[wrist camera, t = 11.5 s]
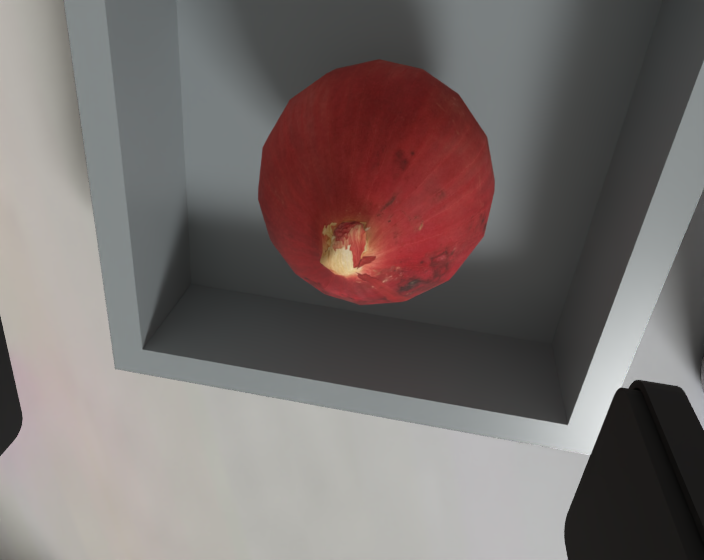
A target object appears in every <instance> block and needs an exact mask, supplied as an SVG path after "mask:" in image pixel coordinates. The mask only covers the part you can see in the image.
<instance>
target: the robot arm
mask: <svg viewBox="0 0 704 560" xmlns="http://www.w3.org/2000/svg"><path fill="white" fill-rule="evenodd" d="M21 426H22V411H21V407H20V402H19V398H18V393H17V389H16V385H15V380H14V376H13V371H12V367H11V362H10V358H9V353H8V349H7V344H6V340H5V335H4V331H3V326H2V322H1V317H0V456H1V455H2V453H3V452H4V451H5V450H6V449H7V448H8V447H9V445H10V444H11V443H12V442H13V441H14V440H15V438H16V437H17V435H18V433H19V431H20V429H21ZM564 538H565V545H566V551H567V557H568V560H704V430H703V428H702V426H701V424H700V422H699V420H698V418H697V416H696V414H695V412H694V410H693V408H692V406H691V404H690V402H689V400H688V398H687V396H686V394H685V392H684V391H683V390H682V388H680V387H678V386H673V385H666V384H660V383H654V382H648V381H642V380H636V381H634V382H633V383H632V384H631V385H630V387H629V389H627V388H619V389H618V390H617V391H616V393H615V395H614V397H613V399H612V402H611V404H610V407H609V409H608V412H607V415H606V417H605V420H604V422H603V425H602V427H601V430H600V432H599V435H598V437H597V440H596V442H595V445H594V448H593V450H592V453H591V455H590V458H589V460H588V463H587V465H586V468H585V470H584V473H583V475H582V478H581V481H580V483H579V486H578V488H577V491H576V493H575V496H574V498H573V501H572V503H571V506H570V509H569V511H568V514H567V517H566V521H565V530H564Z"/></svg>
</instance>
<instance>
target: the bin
mask: <svg viewBox="0 0 704 560" xmlns="http://www.w3.org/2000/svg"><path fill="white" fill-rule="evenodd" d="M64 6H65V13H66V20H67V27H68V34H69V41H70V49H71V56H72V63H73V70H74V77H75V85H76V92H77V99H78V106H79V113H80V120H81V128H82V135H83V142H84V149H85V156H86V163H87V171H88V178H89V185H90V192H91V199H92V206H93V214H94V221H95V228H96V235H97V242H98V250H99V257H100V264H101V271H102V278H103V285H104V293H105V300H106V307H107V314H108V321H109V328H110V336H111V343H112V350H113V357H114V364H115V369H118V370H124V371H129V372H135V373H140V374H146V375H151V376H157V377H162V378H168V379H173V380H179V381H184V382H190V383H195V384H201V385H206V386H212V387H217V388H223V389H228V390H234V391H239V392H245V393H250V394H256V395H261V396H267V397H272V398H278V399H283V400H289V401H294V402H300V403H305V404H311V405H317V406H322V407H328V408H333V409H339V410H344V411H350V412H355V413H361V414H366V415H372V416H377V417H383V418H388V419H394V420H399V421H405V422H410V423H416V424H421V425H427V426H432V427H438V428H443V429H449V430H454V431H460V432H465V433H471V434H476V435H482V436H487V437H493V438H498V439H504V440H509V441H515V442H520V443H526V444H531V445H537V446H542V447H548V448H554V449H559V450H565V451H570V452H576V453H581V454H587V455H591V453H592V450H593V448H594V445H595V442H596V440H597V437H598V435H599V432H600V430H601V427H602V425H603V422H604V420H605V417H606V415H607V412H608V409H609V407H610V404H611V402H612V399H613V397H614V395H615V393H616V391H617V390H618V389H619V388H621V387H622V384H623V382H624V379H625V377H626V375H627V372H628V370H629V367H630V365H631V363H632V360H633V358H634V355H635V353H636V351H637V348H638V346H639V343H640V341H641V339H642V336H643V334H644V331H645V329H646V326H647V324H648V322H649V319H650V317H651V314H652V312H653V310H654V307H655V305H656V302H657V300H658V298H659V295H660V293H661V290H662V288H663V286H664V283H665V281H666V278H667V276H668V274H669V271H670V269H671V266H672V264H673V262H674V259H675V257H676V254H677V252H678V250H679V247H680V245H681V242H682V240H683V237H684V235H685V233H686V230H687V228H688V225H689V223H690V221H691V218H692V216H693V213H694V211H695V209H696V206H697V204H698V201H699V199H700V197H701V194H702V192H703V189H704V0H64ZM377 59H381V60H385V61H390V62H394V63H398V64H403V65H407V66H412V67H416V68H420V69H423V70H425V71H426V72H428V73H429V74H431V75H432V76H434V77H435V78H436V79H438V80H439V81H441V82H442V83H444V84H445V85H446V86H448V87H449V88H451V89H452V90H454V91H455V92H457V93H458V94H459V95H460V97H461V98H462V100H463V101H464V103H465V104H466V106H467V107H468V109H469V110H470V112H471V113H472V115H473V116H474V118H475V119H476V121H477V122H478V124H479V125H480V127H481V128H482V130H483V131H484V133H485V134H486V136H487V138H488V144H489V149H490V155H491V161H492V167H493V172H494V178H495V191H494V195H493V200H492V204H491V208H490V213H489V217H488V221H487V226H486V230H485V234H484V237H483V238H482V240H481V241H480V242H479V243H478V245H477V246H476V247H475V249H474V250H473V251H472V252H471V254H470V255H469V256H468V258H467V259H466V260H465V261H464V263H463V264H462V265H461V266H460V268H459V269H458V270H457V272H456V273H455V274H454V275H453V276H452V277H451V278H450V280H449V281H446V282H444V283H442V284H440V285H438V286H436V287H434V288H432V289H430V290H428V291H426V292H424V293H422V294H420V295H417V296H415V297H413V298H411V299H409V300H407V301H403V302H394V303H382V304H369V305H359V304H355V303H352V302H349V301H345V300H342V299H339V298H336V297H332V296H329V295H326V294H324V293H322V292H321V291H319V290H318V289H317V288H315V287H314V286H312V285H311V284H309V283H308V282H306V281H305V280H304V279H302V278H301V277H299V276H298V275H296V274H295V273H294V271H293V270H292V269H291V267H290V266H289V265H288V263H287V262H286V261H285V259H284V258H283V257H282V255H281V254H280V253H279V251H278V250H277V249H276V248H275V246H274V245H273V243H272V242H271V240H270V238H269V234H268V231H267V228H266V224H265V221H264V218H263V214H262V211H261V208H260V205H259V201H258V186H259V176H260V167H261V158H262V148H263V146H264V144H265V142H266V140H267V138H268V136H269V134H270V133H271V131H272V129H273V128H274V126H275V124H276V122H277V121H278V119H279V117H280V116H281V114H282V112H283V111H284V109H285V107H286V105H287V104H288V102H289V100H290V99H291V98H293V97H294V96H296V95H297V94H298V93H300V92H301V91H303V90H304V89H305V88H307V87H308V86H310V85H311V84H312V83H314V82H315V81H317V80H318V79H319V78H321V77H322V76H324V75H325V74H326V73H328V72H330V71H332V70H334V69H337V68H341V67H346V66H350V65H355V64H359V63H364V62H368V61H373V60H377Z"/></svg>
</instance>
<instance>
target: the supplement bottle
mask: <svg viewBox="0 0 704 560" xmlns="http://www.w3.org/2000/svg"><path fill="white" fill-rule="evenodd" d="M701 383H702V387H703V391H704V356H703V359H702V365H701Z"/></svg>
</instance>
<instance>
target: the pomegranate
mask: <svg viewBox="0 0 704 560" xmlns="http://www.w3.org/2000/svg"><path fill="white" fill-rule="evenodd" d="M494 191H495V178H494V172H493V167H492V161H491V155H490V149H489V144H488V138H487V136H486V134H485V133H484V131H483V130H482V128H481V127H480V125H479V124H478V122H477V121H476V119H475V118H474V116H473V115H472V113H471V112H470V110H469V109H468V107H467V106H466V104H465V103H464V101H463V100H462V98H461V97H460V95H459V94H458V93H457V92H455V91H454V90H452V89H451V88H449V87H448V86H446V85H445V84H444V83H442V82H441V81H439V80H438V79H436V78H435V77H434V76H432V75H431V74H429V73H428V72H426V71H425V70H423V69H420V68H416V67H412V66H407V65H403V64H398V63H394V62H390V61H385V60H381V59H377V60H373V61H368V62H364V63H359V64H355V65H350V66H346V67H341V68H337V69H334V70H332V71H330V72H328V73H326V74H325V75H324V76H322V77H321V78H319V79H318V80H317V81H315V82H314V83H312V84H311V85H310V86H308V87H307V88H305V89H304V90H303V91H301V92H300V93H298V94H297V95H296V96H294V97H293V98H291V99H290V100H289V102H288V104H287V105H286V107H285V109H284V111H283V112H282V114H281V116H280V117H279V119H278V121H277V122H276V124H275V126H274V128H273V129H272V131H271V133H270V134H269V136H268V138H267V140H266V142H265V144H264V146H263V148H262V158H261V167H260V176H259V186H258V201H259V205H260V208H261V211H262V214H263V218H264V221H265V224H266V228H267V231H268V234H269V238H270V240H271V242H272V243H273V245H274V246H275V248H276V249H277V250H278V251H279V253H280V254H281V255H282V257H283V258H284V259H285V261H286V262H287V263H288V265H289V266H290V267H291V269H292V270H293V271H294V273H295V274H296V275H298V276H299V277H301V278H302V279H304V280H305V281H306V282H308V283H309V284H311V285H312V286H314V287H315V288H317V289H318V290H319V291H321V292H322V293H324V294H326V295H329V296H332V297H336V298H339V299H342V300H345V301H349V302H352V303H355V304H359V305H369V304H382V303H394V302H403V301H407V300H409V299H411V298H413V297H415V296H417V295H420V294H422V293H424V292H426V291H428V290H430V289H432V288H434V287H436V286H438V285H440V284H442V283H444V282H446V281H449V280H450V278H451V277H452V276H453V275H454V274H455V273H456V272H457V270H458V269H459V268H460V266H461V265H462V264H463V263H464V261H465V260H466V259H467V258H468V256H469V255H470V254H471V252H472V251H473V250H474V249H475V247H476V246H477V245H478V243H479V242H480V241H481V240H482V238H483V237H484V234H485V230H486V226H487V221H488V217H489V213H490V208H491V204H492V200H493V195H494Z"/></svg>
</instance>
